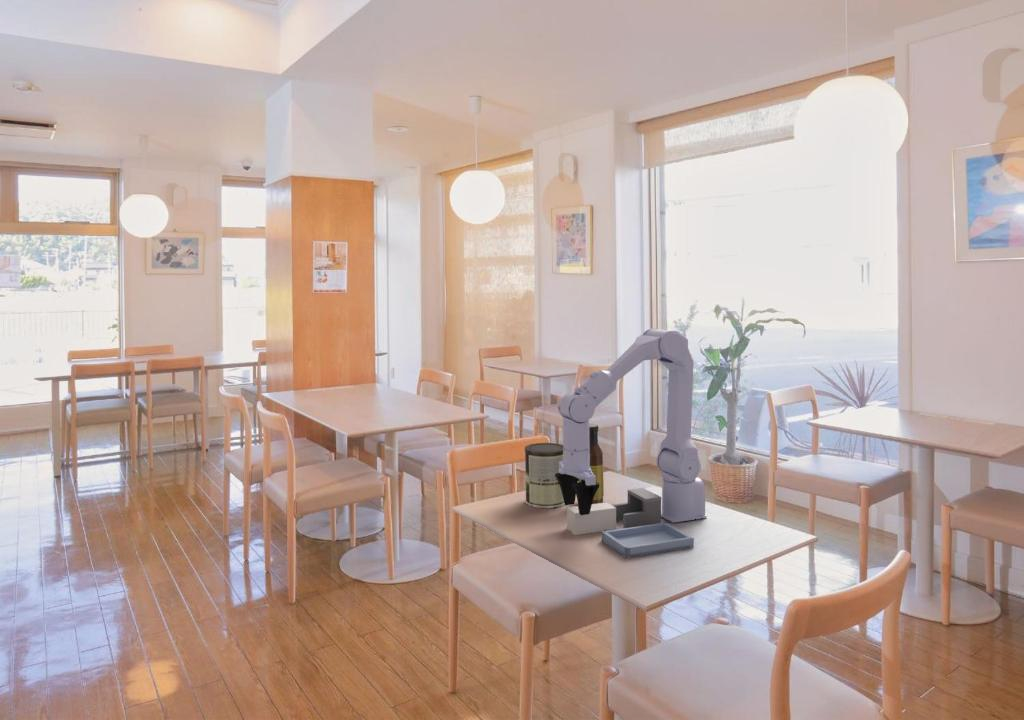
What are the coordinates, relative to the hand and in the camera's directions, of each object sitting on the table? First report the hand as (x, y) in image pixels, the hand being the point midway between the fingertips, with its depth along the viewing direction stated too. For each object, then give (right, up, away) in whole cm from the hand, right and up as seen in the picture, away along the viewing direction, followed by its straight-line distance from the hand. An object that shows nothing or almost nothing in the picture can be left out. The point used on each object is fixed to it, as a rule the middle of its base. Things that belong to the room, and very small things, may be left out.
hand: (576, 509), depth 158 cm
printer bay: (+14, -4, +5) cm, 15 cm away
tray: (+14, -6, -8) cm, 17 cm away
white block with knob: (+3, -5, +2) cm, 6 cm away
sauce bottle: (+5, -3, +20) cm, 21 cm away
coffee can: (-6, -3, +22) cm, 23 cm away
